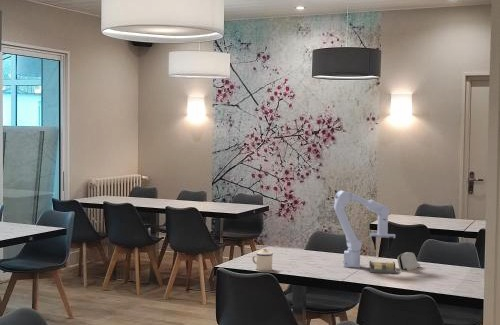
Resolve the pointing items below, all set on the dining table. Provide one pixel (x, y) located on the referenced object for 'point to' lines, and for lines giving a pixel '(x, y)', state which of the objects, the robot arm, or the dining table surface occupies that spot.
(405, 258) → the light grey rounded slab
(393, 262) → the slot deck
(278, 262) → the dining table surface
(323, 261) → the dining table surface
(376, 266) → the wooden cube
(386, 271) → the tray
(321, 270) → the dining table surface
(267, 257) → the teacup with lid
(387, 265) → the tan wooden cube
